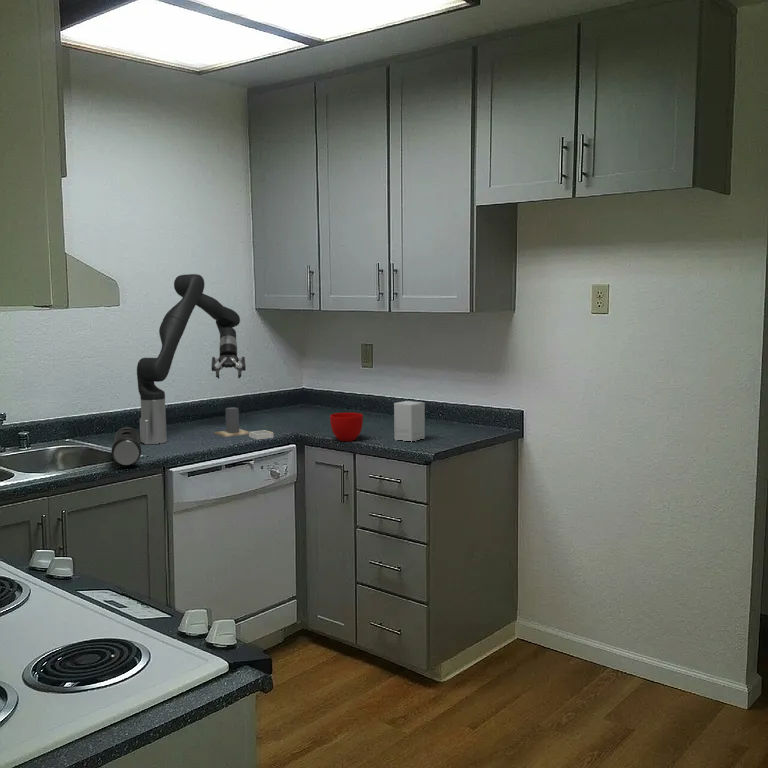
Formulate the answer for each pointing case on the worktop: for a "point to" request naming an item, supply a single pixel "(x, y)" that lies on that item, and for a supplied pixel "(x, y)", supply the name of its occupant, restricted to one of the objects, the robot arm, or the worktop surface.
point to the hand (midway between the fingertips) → (228, 377)
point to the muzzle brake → (126, 446)
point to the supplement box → (409, 421)
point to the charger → (232, 420)
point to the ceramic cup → (346, 425)
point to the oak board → (225, 434)
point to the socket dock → (261, 434)
